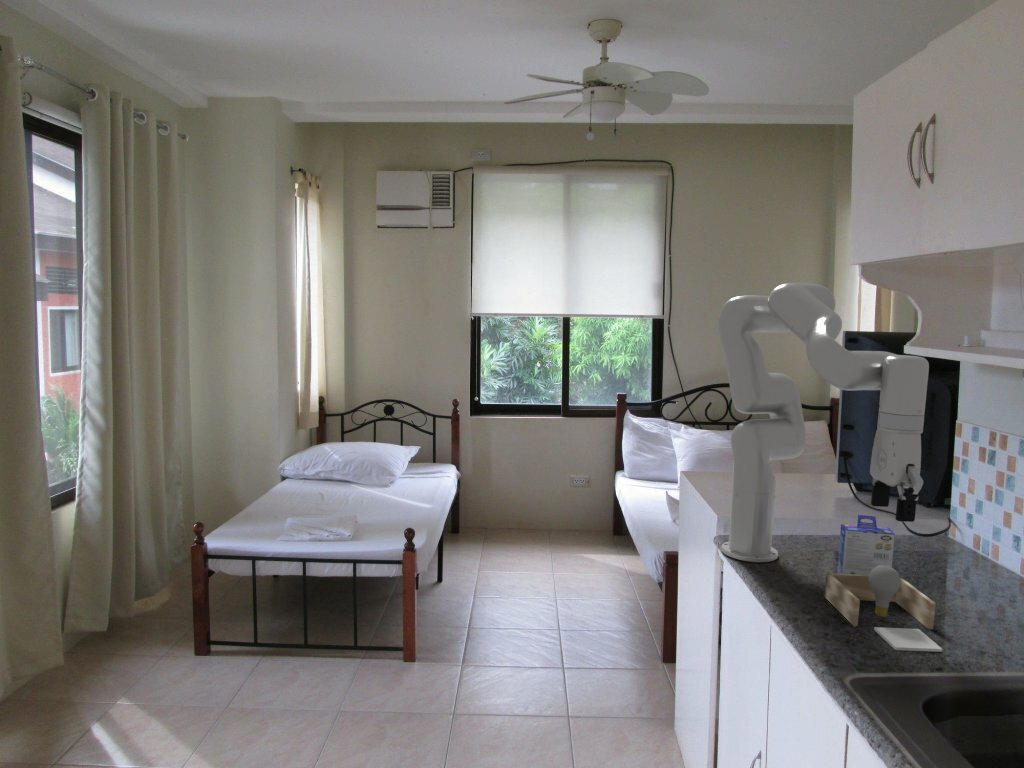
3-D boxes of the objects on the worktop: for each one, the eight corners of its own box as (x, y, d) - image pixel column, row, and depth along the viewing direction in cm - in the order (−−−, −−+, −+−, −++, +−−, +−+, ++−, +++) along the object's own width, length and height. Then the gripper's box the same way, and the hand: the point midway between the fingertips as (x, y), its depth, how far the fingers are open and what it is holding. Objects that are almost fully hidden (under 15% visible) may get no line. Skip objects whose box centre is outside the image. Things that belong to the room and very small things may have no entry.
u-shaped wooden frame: (824, 597, 156) (826, 573, 155) (897, 600, 156) (899, 576, 155) (853, 626, 142) (855, 600, 142) (933, 629, 142) (935, 603, 142)
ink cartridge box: (884, 582, 166) (890, 516, 164) (891, 591, 160) (898, 523, 158) (835, 577, 168) (840, 512, 166) (840, 586, 162) (846, 519, 160)
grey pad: (874, 629, 141) (874, 627, 141) (918, 631, 141) (918, 628, 141) (895, 650, 133) (895, 647, 133) (942, 651, 133) (942, 649, 133)
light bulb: (882, 624, 143) (887, 572, 142) (858, 613, 148) (863, 562, 147) (903, 620, 146) (908, 569, 144) (879, 609, 151) (884, 559, 149)
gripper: (859, 414, 151) (851, 500, 153) (903, 430, 134) (894, 526, 136) (897, 415, 151) (889, 501, 153) (946, 431, 134) (936, 528, 136)
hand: (891, 513), depth 145 cm, fingers open, 9 cm apart
